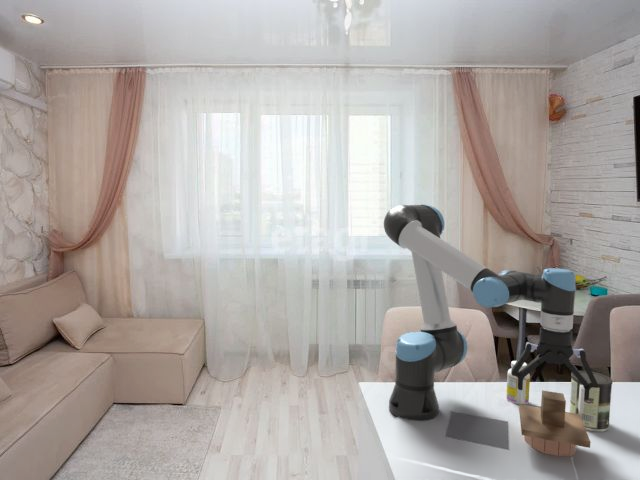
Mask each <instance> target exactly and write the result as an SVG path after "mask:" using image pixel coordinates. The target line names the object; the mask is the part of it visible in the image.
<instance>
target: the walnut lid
mask: <svg viewBox="0 0 640 480" xmlns="http://www.w3.org/2000/svg"><path fill="white" fill-rule="evenodd" d="M540 402H541V403H540V406H539V407H538V406H532V405H528V404H518V405H519V407H518V411H519V421H520V432H521V436H524V435H525V436H530V437H535V438H540V439H546V440H551V441H556V442H561V443H567V444H572V445H576V446H578V447H584V448H589V449H590V448H591V443H592V442H591V440H590V437H589V434H588V430H586V429H585V426H584V424H583V421H582V418H581V416H580V414H575V413H570V411H569V412H568V411H567V412H566V403H567V401H566V397H565V395H564V393H563V392H562V393H561V392H556V391H548V390H541V401H540Z"/></svg>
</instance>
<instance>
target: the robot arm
mask: <svg viewBox="0 0 640 480" xmlns="http://www.w3.org/2000/svg"><path fill="white" fill-rule="evenodd" d="M384 216H385V217H384V220H383V229H384V232H385V234H386V236H387V237H388V238H389V239H390V240H391V241H392V242H393V243H394V244H396V245H398V246H399V248H401V249H408V250H409V251H410V252H411V256H412V263H413V268H414V273H415V274H414V275H415V280H416V284H417V285H416V286H417V291H418V297H419V302H420V308H421V314H422V318H423V320H422V321H423V324H422V325H421V327H420V331H415V332H413V331H410V332H407V333H403V334H402V335H400V336H399V337H398V339H397V341H396V347H395V379H394V381H395V384H394V387H393V389H392V391H391V394H390V396H389V401H388V410H389V412H390V413H391V414H392V415H393V416H395V417H400V418H401V419H405V420H408V421H415V422H416V421H417V422H421V421H422V422H424V421H430V420H433V419H435V418H437V416H438V415H439V414H440V404H439V401H438V398H437V394H436V390H435V374H436V373H439V372H441V371H444V370H446V369H450V368H454V367H455V366H457V365H458V364H460V363H461V362H463V360H464V359H465V358H466V356H467V353H468V342H467V339H466V336H465V335H464V334H462V332H461V331H460V330H458V328H457V326H458V325H457V323H455V322H454V321H453V320H452V319H451V315H450V310H449V304H448V298H447V293H446V287H445V282H444V277H443V273H444V274H445V275H447V276H448V277H450V278H452V279H453V280H455V281H456V282H458V283H459V284H460V285H462V286H463V287H465V288H466V289H468V290H469V291H471V292H472V295H473V297H474V300H475V301H476V303H478V304H479V305H480V306H482V307H484V308H497V307H502V306H503V305H507V304H510V303H515V302H518V301H528V302H533V303H538V304H539V303H540V304H541V305H540V306H541V307H540V318H539V319H540V326H541V327H539V337H538V338H539V339H538V340H539V341H538V343H537V344H534V343H531V342H530V341H526V342H525V347H524V349H523V352H522V353H521V354H520V355H519V357H518V359H517V360H516V361H517V362H516V363H515V365H514V366H513V368H512V367H511V368H512V369H511V368H510V369H511V374H512V375H513V376H516V377H518V390H522V398H521V400H522V403H523V404H522V405H526V404H525V393H526V377H525V376H527V375H528V374H530V373H531V372H533V371H534V370H535V369H536V368H538V367H539V366H540V365H543V363H544V362H546V363H548V364H555V365H563V364H565V366H567V368H568V369H569V370H570V371H571V373H572V372H573V374H574V375H575V376H576V377H577V379H578V380H579V381H580V382H581V383H582V385H580V388H579V403H578V410H579V412H580V413H582V414H583V408H584V400H587V401H588V399H589V390H590V389H591V388H593V387H595V388H597V387H598V383H597V381H596V379H595V377H594V375H593V373H592V372H593V371H592V368H591V367H590V365H589V363H588V361H587V358H586V357H587V356H586V351H585V349H584V348H583V347H579V348H572V347H573V345H572V343H573V331H572V330H573V328H574V327H573V326H574V313H575V311H574V310H575V298H576V291H577V287H576V274H575V272H574V271H572V270H571V269H566V268H554V267H550V268H544V269H543V271H542V274H537V273H529V272H523V271H517V270H505V269H504V270H502V271H500V273H499V274H498V273H496V272H494V271H493V270H491V269H490V268H488V267H487V266H485V265H484V264H482V263H480V262H478V261H477V260H475V259H474V258H472V257H471V256H469V255H468V254H465V252H463V251H462V250H459V249H458V248H456V247H455V246H453V245H451V244H450V243H449V242H446V241H445V240H443V239H442V238H441V235H442V234H443V231H444V230H445V219H444V216H443V214H442V213H441V211H440V210H439V209H437V208H436V207H435V206H432V205H427V204H410V205H409V204H400V205H399V204H398V205H396V206H394V207H392V208H391V209H390V210H388V212H387V213H386V214H385V215H384ZM535 350H537V352H538V353H539V354H538V355H536V357H534V359H533V360H531V361H530V362H529V363H527V366H526V367H524V368H523V369H522V370H521V371H520V372H519V370H520V368H521V367H522V365H523V364H524V362H525V363H526V361H527V359H528V358H529V356H530V354H531V353H533V352H534V351H535ZM573 355H574V356H576V358H577V359H579V360H580V363H581V364H582V366H583V369H584V371H586V373H587V375H588V377H589V379H590V381H587V380H586V379H585V378H584V377H583V376H582V374H581V373H580V372H579V371H580V370H579V369H578V368H577V367H576V366H575V364H573V362H572V361H571V360H570V358H571V357H572V356H573Z"/></svg>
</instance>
